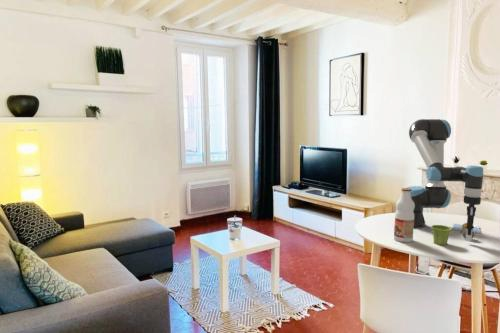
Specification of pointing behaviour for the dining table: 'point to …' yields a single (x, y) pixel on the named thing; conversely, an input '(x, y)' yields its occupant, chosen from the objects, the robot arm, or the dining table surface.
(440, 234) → the plant pot
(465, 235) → the ball
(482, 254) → the dining table surface
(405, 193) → the fruit juice
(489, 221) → the dining table surface
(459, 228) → the mark
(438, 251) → the dining table surface
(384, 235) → the dining table surface
